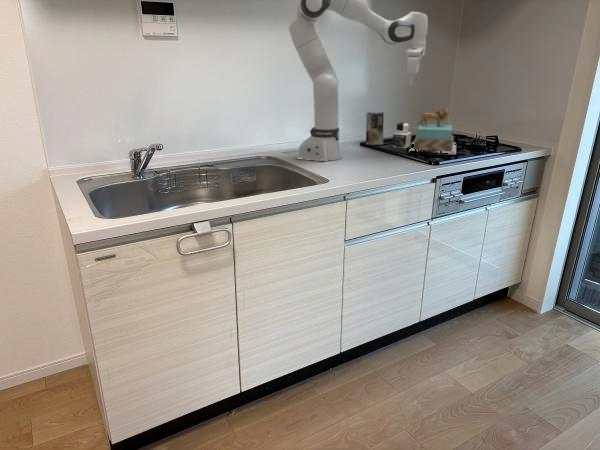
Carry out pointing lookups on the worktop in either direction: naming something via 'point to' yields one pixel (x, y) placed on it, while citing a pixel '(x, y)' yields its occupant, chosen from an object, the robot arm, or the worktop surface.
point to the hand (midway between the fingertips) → (412, 83)
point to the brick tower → (434, 139)
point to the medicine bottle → (402, 136)
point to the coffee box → (374, 128)
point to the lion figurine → (435, 116)
